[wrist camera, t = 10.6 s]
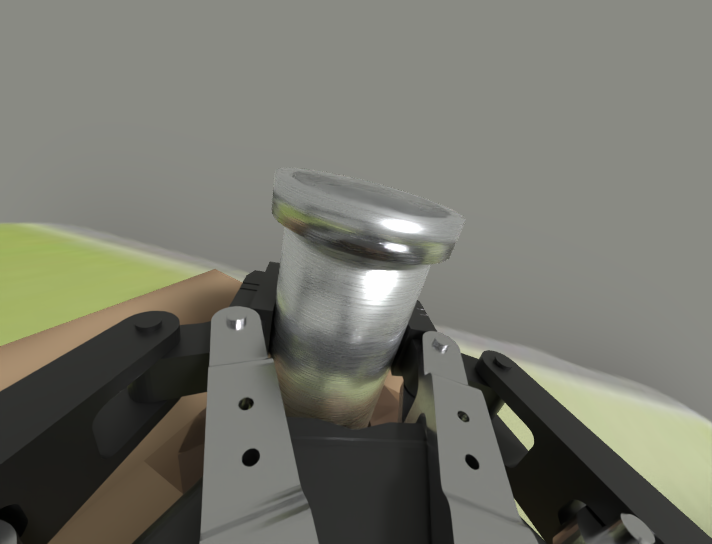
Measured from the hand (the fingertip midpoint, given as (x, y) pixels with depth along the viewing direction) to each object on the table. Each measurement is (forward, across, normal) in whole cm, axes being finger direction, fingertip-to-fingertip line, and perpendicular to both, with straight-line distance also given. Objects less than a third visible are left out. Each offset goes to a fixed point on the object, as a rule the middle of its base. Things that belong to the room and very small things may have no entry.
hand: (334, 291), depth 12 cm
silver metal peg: (-3, 0, +7) cm, 7 cm away
